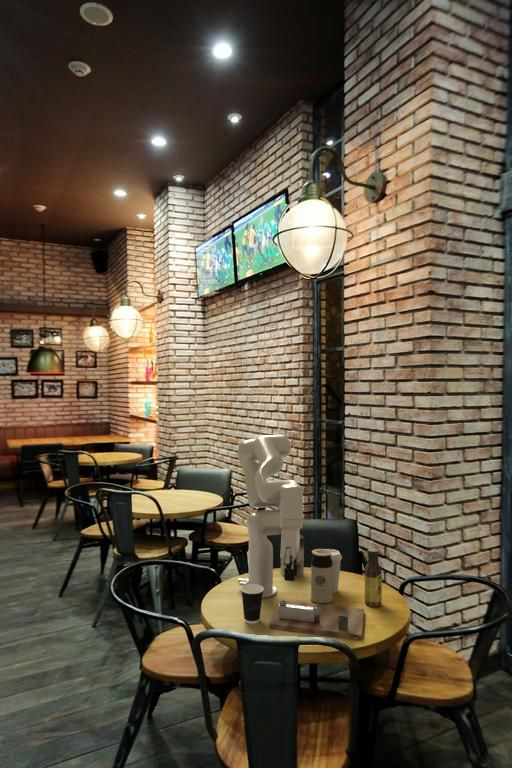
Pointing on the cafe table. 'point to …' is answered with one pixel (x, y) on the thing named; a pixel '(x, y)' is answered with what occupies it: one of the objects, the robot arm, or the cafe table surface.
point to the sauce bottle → (373, 579)
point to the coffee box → (299, 559)
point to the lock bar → (299, 612)
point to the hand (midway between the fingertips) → (290, 577)
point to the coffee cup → (335, 569)
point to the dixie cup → (252, 602)
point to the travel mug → (321, 576)
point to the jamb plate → (324, 621)
